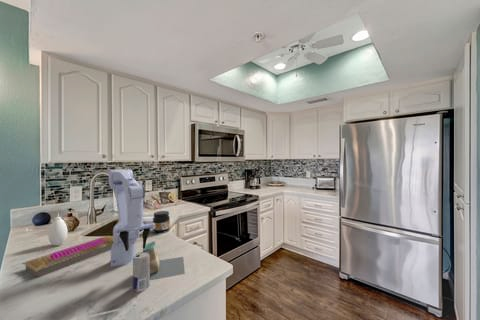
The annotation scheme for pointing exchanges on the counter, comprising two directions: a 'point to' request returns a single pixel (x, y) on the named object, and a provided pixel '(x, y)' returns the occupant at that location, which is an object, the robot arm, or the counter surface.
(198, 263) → the counter surface
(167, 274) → the rubber mat
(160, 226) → the supplement container
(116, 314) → the counter surface
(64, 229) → the white egg candle
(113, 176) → the robot arm
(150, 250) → the oak block
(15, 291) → the counter surface
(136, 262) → the energy drink
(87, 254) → the brown long flat block
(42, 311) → the counter surface
